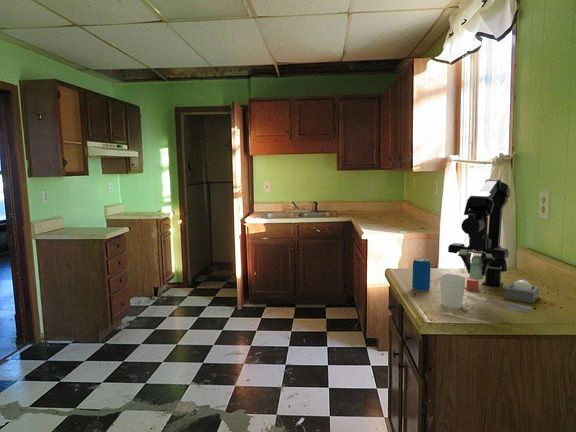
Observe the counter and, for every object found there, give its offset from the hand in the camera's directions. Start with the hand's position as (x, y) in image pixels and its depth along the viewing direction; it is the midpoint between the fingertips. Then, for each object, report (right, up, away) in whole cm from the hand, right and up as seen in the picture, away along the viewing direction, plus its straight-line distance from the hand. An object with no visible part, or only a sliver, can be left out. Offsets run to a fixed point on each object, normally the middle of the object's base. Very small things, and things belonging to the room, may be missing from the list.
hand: (476, 274), depth 147 cm
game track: (+5, -10, -3) cm, 12 cm away
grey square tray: (+17, -9, +3) cm, 20 cm away
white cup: (-11, -10, -4) cm, 15 cm away
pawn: (0, -1, 0) cm, 1 cm away
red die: (+5, -8, +14) cm, 16 cm away
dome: (+17, -8, +3) cm, 19 cm away
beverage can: (-15, -8, +14) cm, 22 cm away
